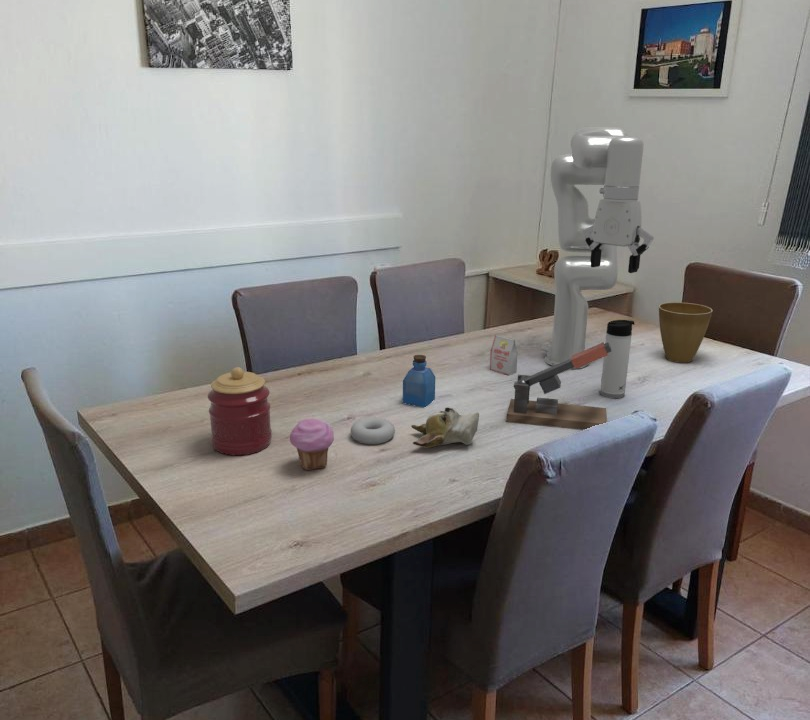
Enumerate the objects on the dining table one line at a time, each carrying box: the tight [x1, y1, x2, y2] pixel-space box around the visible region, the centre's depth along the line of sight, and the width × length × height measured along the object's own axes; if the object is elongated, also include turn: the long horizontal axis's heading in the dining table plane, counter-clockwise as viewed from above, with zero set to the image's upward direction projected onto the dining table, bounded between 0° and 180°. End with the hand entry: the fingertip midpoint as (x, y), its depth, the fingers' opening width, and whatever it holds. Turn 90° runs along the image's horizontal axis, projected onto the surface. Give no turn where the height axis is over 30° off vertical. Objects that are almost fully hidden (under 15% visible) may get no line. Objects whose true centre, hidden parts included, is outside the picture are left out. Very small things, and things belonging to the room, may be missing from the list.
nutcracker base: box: [505, 374, 608, 430], centre depth 170 cm, size 23×10×9 cm, turn 76°
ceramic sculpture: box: [410, 407, 480, 449], centre depth 157 cm, size 11×9×15 cm
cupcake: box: [289, 418, 335, 471], centre depth 146 cm, size 9×9×10 cm
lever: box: [513, 341, 611, 395], centre depth 167 cm, size 24×4×5 cm
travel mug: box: [599, 319, 635, 399], centre depth 184 cm, size 6×7×20 cm
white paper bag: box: [489, 334, 519, 376], centre depth 202 cm, size 4×7×10 cm, turn 45°
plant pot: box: [658, 301, 713, 364], centre depth 213 cm, size 15×15×16 cm
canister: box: [207, 366, 273, 456], centre depth 154 cm, size 13×13×18 cm
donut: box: [350, 416, 396, 445], centre depth 160 cm, size 10×3×10 cm
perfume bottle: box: [402, 354, 436, 408], centre depth 179 cm, size 6×6×12 cm
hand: (613, 269), depth 166 cm, fingers open, 9 cm apart
